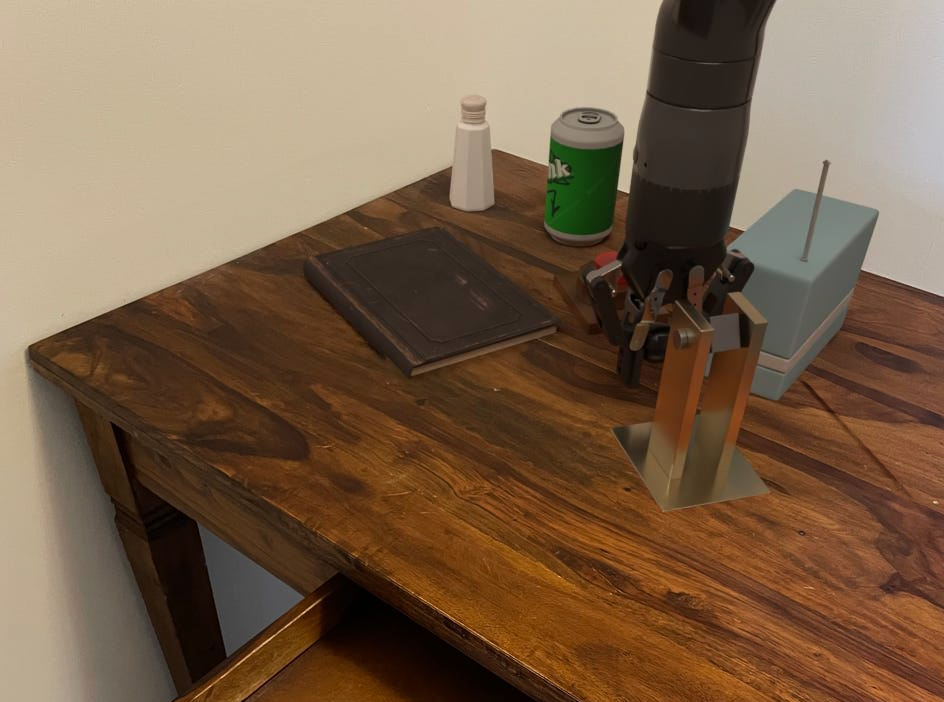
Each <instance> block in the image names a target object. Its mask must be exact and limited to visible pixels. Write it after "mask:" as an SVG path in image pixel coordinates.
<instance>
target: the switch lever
mask: <svg viewBox="0 0 944 702" xmlns="http://www.w3.org/2000/svg"><path fill="white" fill-rule="evenodd" d="M705 319H706V320H707V321H708V323H709V324H710V325H711V326H712V327H713V328H714V334H713V338H712V343H711V347H710V352H709V353H715V352H722V351H729V350H735V349H740V330H739V313H734V314H727V315H720V316H712V317H706V318H705ZM670 327H671V325H669V324H668V323H667V324H665V323H661V322H655V323H654V324H651V325H650V328H649V331H648V334H647V336H646V339H645V342H644V345H643V349H644V356H643V361H645V362H646V363H649V364H653V365H655V364H656V365H657V364H663V363H664V360H665V354H666V349H667V343H668V338H669V333H670Z"/></svg>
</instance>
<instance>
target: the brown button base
mask: <svg viewBox="0 0 944 702" xmlns="http://www.w3.org/2000/svg"><path fill="white" fill-rule="evenodd" d="M594 265H595V259H594V260H590V261H588V262H586V263H585V264H583V265H581V266H579V269H578V270H574V271H567V272H558V273H554V274H553V282H552V283H553V284H552V285H553V287H554V288H555V289H556V291H557V293H558V294H559V296H561V298H562V300H563V301H564V302H565V304H566V305H567V307H568V308H569V310H570V312H572V314H573V315H574V317H575V318H576V320H577V322H578V323H579V324H580V326H581V327H582V329H583V330H584V331H585V333H586V335H588V336H590V335H598V334H603V333H602V332H601V330H600V329H599V327H598V323H597V320H596V317H595V314H594V311H593V308H592V305H591V302H590V299H589V296H588V293H587V290H586V287H585V283H584V280H583V277H582V273H583V271H584V270H585V268H587V267H589V266H594ZM628 289H629V285H628V284H626V285H620V286H618V291H617V295H616V296H615V297H613V301H614V304H615V307H616V311H617V314H618V317H619V321H620V323H621V321H622V318H623V315H624V311H625V305H624V302H625V298H626V295H627V292H628ZM669 317H670V312H669V311H668V309H666V306H665V305H664V306H662V307H660V309H659V312H658V315H657V318H656V321H655V322H661V323H665V324H667V325H668V324H669V323H668V322H669V319H670V318H669Z"/></svg>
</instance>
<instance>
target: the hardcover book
mask: <svg viewBox="0 0 944 702" xmlns="http://www.w3.org/2000/svg"><path fill="white" fill-rule="evenodd" d="M302 265H303V266H302V268H303V269H302V270H303V275H304V277H305V278H306V279H307V280H308V281H309V282H310V283H311V284H312V285H313V286H314V287H315V288H316V289H317V290H318V291H319V293H321V294H322V295H323V297H325V299H326V300H327V301H329V303H330V304H331V305H332V306H333V307H334V308H335V309H336V310H337V311H338V312H339V314H341V315H342V316H343V317H344V318H345V319H346V320H347V322H349V323H350V325H352V327H354V328H355V330H356V331H358V333H359V334H361V336H362V337H363V338H364V339H365V340H366V341H367V342H368V343H369V344H370V346H372V347H373V348H374V349H375V350H376V351H377V352H378V353H379V354H380V356H382V357H383V358H384V359H385V360H386V361H387V360H388V359H389V360H390V361H391V362H392V363H393V364H394V365H395V366H396V367H397V368H398V370H399V371H400V372H402V373H403V375H404V376H406V377H407V379H409V380H412V377H413V376H418V375H421V374H423V373H427V372H430V371H434V370H436V369H440V368H444V367H447V366H451V365H453V364H456V363H460V362H463V361H466V360H469V359H472V358H476V357H479V356H483V355H486V354H489V353H492V352H496V351H499V350H502V349H506V348H509V347H512V346H516V345H519V344H522V343H526V342H529V341H532V340H536V339H539V338H542V337H547V336H548V335H552V334H555V333H557V326H560V325H563V320H561V318H560V317H558V316H556V314H554V313H553V312H552V311H550V310H549V309H548V308H547V307H545V306H544V305H543V304H542V303H540V302H539V301H538V300H536V299H535V298H534V297H532V296H531V295H530V294H529V293H527V291H525V290H524V289H522V288H521V287H520V286H519V285H517V284H516V283H515V282H513V281H512V280H511V279H510V278H509V277H508V276H506V275H505V274H503V273H502V272H501V271H500V270H498V269H497V268H496V267H494V266H493V265H492V264H491V263H489V262H488V261H487V260H485V259H484V258H483V257H482V256H480V255H479V254H478V253H477V252H475V251H474V250H473V249H472V248H470V247H469V246H468V245H467V244H465V243H464V242H462V241H461V240H460V239H459V238H458V237H456V236H455V235H454V234H453V233H451V232H450V231H449V230H447V229H446V228H445V227H444V226H443V225H442V224H438V225H434V226H431V227H427V228H423V229H418V230H414V231H410V232H406V233H402V234H398V235H393V236H389V237H385V238H381V239H378V240H377V239H376V240H373V241H369V242H366V243H361V244H356V245H353V246H348V247H344V248H341V249H340V248H339V249H337V250H332V251H329V252H328V251H327V252H324V253H319V254H315V255H312V256H311V255H310V256H308V257H306V259H304V261H303V263H302ZM387 358H388V359H387Z"/></svg>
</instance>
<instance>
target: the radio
mask: <svg viewBox="0 0 944 702" xmlns="http://www.w3.org/2000/svg"><path fill="white" fill-rule="evenodd" d="M830 165H832V162H831V161H829V160H828V159H825V160H823V161H822V170H821V175H820V178H819V183H818V187H817V191H816V192H811V191H808V190H804V189H800V188H794V189H792V190H791V191H789V192H788V194H786V195H785V196H784V197H783V198H781V199H780V200H779V201H778V202H777V203H776V204H775V205H774V206H772V207H771V208H770V209H769V210H768V211H767V212H765V213H764V214H763V215H762V216H760V218H758V219H757V220H756V221H755V222H753V224H752V225H750V226H749V227H748V228H747V229H746V230H745V231H744V232H742V233H741V234H739V236H738V237H737V238H735V240H733V241H732V242H731V243H729V245H727V246H726V247H727V250H729V251H731V250H733V249H738V250H739V251H740V252H741V253H743V254H744V255H745V256H746V257H747V258H748V259H749V260H750V261H751V262H752V263H753V264H754V271H753V273H752V275H751V276H750V278H749V280H748V281H747V283H746V285H745V286H744V288H743V290H742V291H741V294H742V295H743V296H744V297H745V298H746V299H747V300H748V301H749V302H750V303H751V304H752V305H753V306H754V307H755V308H756V310H757V311H758V312H759V313H760V314H761V315H762V316H763V317H764V318H765V319H766V320H767V321H768V325H767V329H766V333H765V336H764V340H763V344H762V348H761V351H760V355H759V359H758V362H757V366H756V370H755V374H754V377H753V381H752V385H751V389H750V392H749V393H750V394H754V395H757V396H760V397H763V398H765V399H767V400H771V401H774V402H778V401H779V400H780V399H781V398H782V397H783V395H785V393H786V392H787V391H788V390H789V389H790V388H791V387H792V385H793V384H794V383H795V382H796V381H797V380H798V378H799V377H801V375H802V374H803V373H804V372H805V370H806V369H807V368H808V367H809V366H810V364H811V363H812V362H813V361H814V360H815V359H816V358H817V356H819V354H820V353H821V351H823V350H824V348H825V347H826V346H827V345H828V344H829V342H831V340H832V339H833V338H834V336H835V335H836V334H837V333H838V332H839V331H840V329H841V328H842V327H843V325H844V322H845V320H846V316H847V313H848V311H849V307H850V304H851V300H852V298H853V295H854V292H855V289H856V288H855V287H856V285H857V283H858V280H859V277H860V274H861V271H862V267H863V265H864V262H865V258H866V255H867V252H868V250H869V247H870V243H871V240H872V238H873V234H874V231H875V228H876V225H877V222H878V219H879V216H880V211H879V209H876V208H873V207H869V206H866V205H863V204H858V203H854V202H850V201H846V200H842V199H838V198H835V197H830V196H827V195H824V189H825V184H826V181H827V177H828V172H829V169H830ZM715 275H716V271H715V273H714V274H713V277H712V280H713V278H714V276H715ZM712 280H711V281H712ZM712 358H713V353H709V356H708V361H707V365H706V370H705V374H704V377H706V378H708V375H709V371H710V366H711V362H712Z"/></svg>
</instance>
